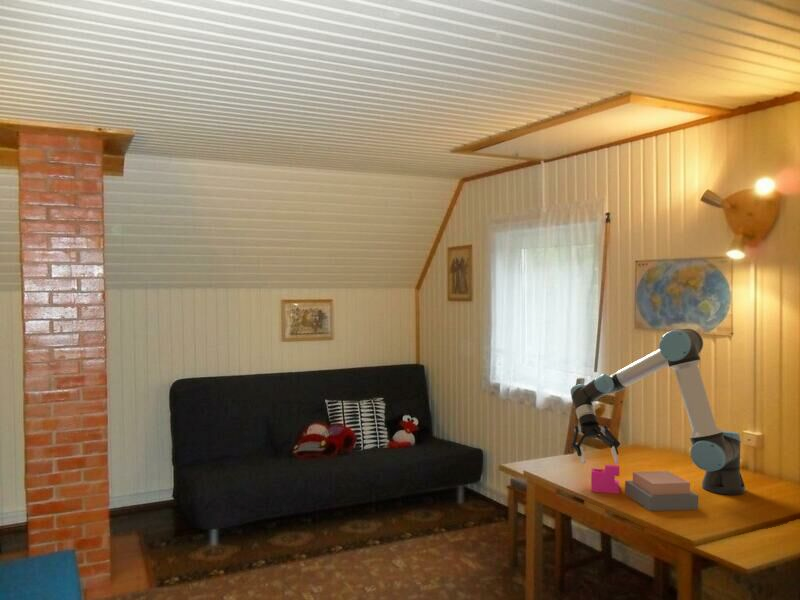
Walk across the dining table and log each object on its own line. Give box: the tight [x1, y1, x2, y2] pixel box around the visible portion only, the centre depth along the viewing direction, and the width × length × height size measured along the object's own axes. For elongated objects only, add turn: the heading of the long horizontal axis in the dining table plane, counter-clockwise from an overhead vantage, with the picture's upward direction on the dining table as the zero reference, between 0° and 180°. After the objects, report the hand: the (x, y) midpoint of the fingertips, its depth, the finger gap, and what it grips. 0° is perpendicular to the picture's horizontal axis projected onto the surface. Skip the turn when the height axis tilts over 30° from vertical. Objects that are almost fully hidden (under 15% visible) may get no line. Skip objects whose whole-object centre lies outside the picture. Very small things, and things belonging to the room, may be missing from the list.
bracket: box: [590, 464, 620, 495], centre depth 263 cm, size 12×10×10 cm
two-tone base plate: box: [624, 470, 699, 512], centre depth 246 cm, size 18×20×9 cm
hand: (600, 462), depth 267 cm, fingers open, 13 cm apart
